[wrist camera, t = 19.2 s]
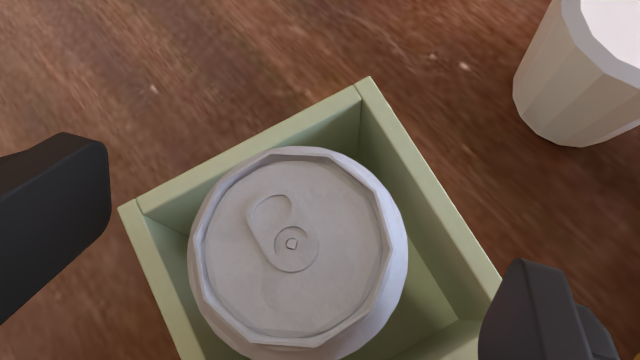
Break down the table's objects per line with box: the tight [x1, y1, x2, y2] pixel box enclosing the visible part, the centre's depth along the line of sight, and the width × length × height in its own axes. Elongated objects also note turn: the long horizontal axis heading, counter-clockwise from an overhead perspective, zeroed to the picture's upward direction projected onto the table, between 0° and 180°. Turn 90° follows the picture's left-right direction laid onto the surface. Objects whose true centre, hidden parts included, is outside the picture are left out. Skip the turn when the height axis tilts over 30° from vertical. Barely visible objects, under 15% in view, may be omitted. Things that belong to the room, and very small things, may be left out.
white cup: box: [512, 0, 640, 148], centre depth 20 cm, size 7×7×7 cm
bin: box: [117, 76, 502, 360], centre depth 18 cm, size 10×10×7 cm
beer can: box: [187, 146, 408, 360], centre depth 15 cm, size 5×5×12 cm
